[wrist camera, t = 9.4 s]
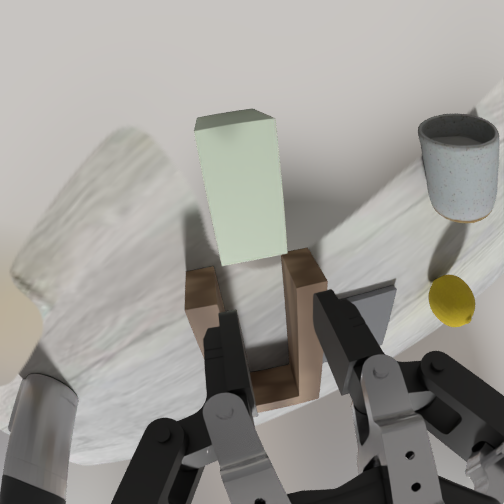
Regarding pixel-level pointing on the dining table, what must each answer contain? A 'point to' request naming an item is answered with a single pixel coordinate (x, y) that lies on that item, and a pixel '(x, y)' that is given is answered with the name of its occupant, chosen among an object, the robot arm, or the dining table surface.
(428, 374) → the robot arm
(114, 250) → the dining table surface
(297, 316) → the rail
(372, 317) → the slate coaster
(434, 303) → the lemon
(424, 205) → the dining table surface
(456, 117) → the ceramic mug
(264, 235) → the sage block
